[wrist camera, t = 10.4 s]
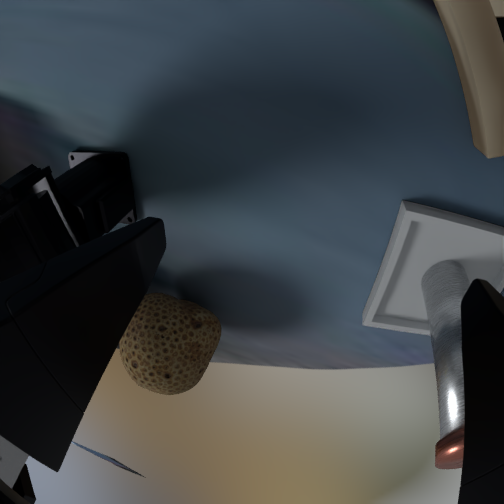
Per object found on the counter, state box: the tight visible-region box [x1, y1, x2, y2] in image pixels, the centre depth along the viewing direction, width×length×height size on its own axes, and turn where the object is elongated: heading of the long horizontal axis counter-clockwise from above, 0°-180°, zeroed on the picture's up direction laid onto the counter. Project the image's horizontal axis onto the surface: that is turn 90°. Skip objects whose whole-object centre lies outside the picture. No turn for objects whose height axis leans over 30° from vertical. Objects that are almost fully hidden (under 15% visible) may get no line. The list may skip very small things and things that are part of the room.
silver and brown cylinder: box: [421, 260, 471, 469], centre depth 16 cm, size 5×5×14 cm
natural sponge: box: [119, 293, 221, 395], centre depth 27 cm, size 9×9×10 cm
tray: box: [363, 200, 504, 335], centre depth 21 cm, size 11×11×2 cm
